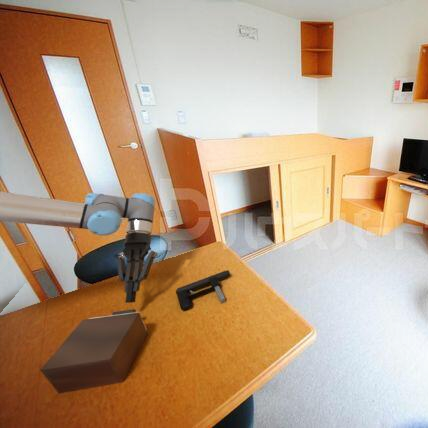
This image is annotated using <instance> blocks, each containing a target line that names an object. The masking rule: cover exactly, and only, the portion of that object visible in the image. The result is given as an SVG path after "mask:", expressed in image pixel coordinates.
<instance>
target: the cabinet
mask: <svg viewBox="0 0 428 428" xmlns="http://www.w3.org/2000/svg"><path fill="white" fill-rule="evenodd" d="M137 312H138V313H131V314H123V315H115V316H111V315H106V316H107V317H103V316H99V317H100V318H95V317H91V318H92V319H89V318H86V319H82V320H81V321H80V322H79V324H78V325H76V327H75V328H74V329H73V330H72V332H71V333H70V334H69V335H68V336H67V337H66V338H65V340H64V341H63V342H62V343H61V344H60V346H59V347H57V349H56V351H55V352H54V353H53V354H52V355H51V356H50V358H49V359H48V360H47V361H46V363H45V364H43V366H42V367H41V368H40V369H39V371H40V372H41V373H42V374H43V376H44V377H45V378H46V379H47V381H48V382H49V383H50V385H51V386H52V387H53V388H54V390H55V391H56V392H57V394H64V393H69V392H75V391H80V390H86V389H91V388H97V387H98V388H99V387H103V386H108V385H109V386H110V385H115V384H120V383H124V382H125V380H126V378H127V377H128V375H129V372H130V370H131V369H132V366H133V364H134V363H135V360H136V358H137V357H138V355H139V353H140V351H141V349H142V347H143V345H144V343H145V341H146V339H147V338H148V335H149V334H148V333H149V332H148V330H146V329H147V327H146V328H145V326H146V325H145V326H144V324H145V323H144V324H143V321H144V320H143V321H142V319H143V318H142V319H141V317H142V316H141V317H140V314H141V313H140V314H139V312H140V311H137Z"/></svg>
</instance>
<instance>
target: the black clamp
mask: <svg viewBox="0 0 428 428" xmlns="http://www.w3.org/2000/svg"><path fill="white" fill-rule="evenodd" d="M230 276H231V272H230V270H229V269H227V270H223V271H219V272H218V273H215V274H213V275H209V276H207V277H204V278H202V279H199V280H196V281H194V282H191V283H188V284H185V285H182V286H179V287H178V288H177V289H176V290H175V295H176V296H177V300H178V303H179V304H178V305H179V307H180V310H181V311H187V310H190V309H191V308H192V307H193V300H195V299H197V298H201V297H203V296H205V295H208V294H210V293H215V292H216V296H217V297H218V300H219V302H220V304H224V303H226V302H227V301H226V297H225V294H224V293H223V291H222V285H221V283H220V282H221V281H222V280H224V279H227V278H229V277H230ZM209 285H210V287H207V286H209ZM204 287H207V288H205V289H204ZM201 288H203V289H202V290H199V289H201ZM196 290H199V291H197V292H195V291H196ZM190 293H191V294H190Z"/></svg>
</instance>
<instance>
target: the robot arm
mask: <svg viewBox="0 0 428 428" xmlns="http://www.w3.org/2000/svg"><path fill="white" fill-rule="evenodd" d="M155 201H156V199H155V197H154V196H152V195H151V194H148V193H143V192H142V193H139V192H136V193H133V194H132V195H131V197H125V196H124V197H123V196H117V195H109V194H104V193H94V192H89V193H87V194H86V196H85V200H84V203H82V202H76V201H68V200H64V199H63V200H62V199H56V198H48V197H41V196H34V195H28V194H20V193H14V192H6V191H0V222H4V223H7V222H8V223H16V224H27V225H39V226H49V227H59V228H71V229H82V230H89V232H91V233H92V234H94V235H97V236H103V237H104V236H105V237H106V236H110V235H113V234H115V233H116V232H117V231H119V229H120V228H121V225H122V221H123V219H127V225H126V230H125V232H126V234H125V238H124V248H123V249H122V251H121V252H119V253H115V254H114V255H113V258H114V259H115V261H116V267H117V274H118V281H120V282H122V283H123V282H124V290H123V292H124V293H125V295H126V296H125V302H124V304H130V303H131V304H132V303H136V300H137V299H136V298H137V293H138V292H139V291H140V287H141V282H142V281H145V280H147V279H148V277H149V274H150V270H151V269H152V266H153V262H154V260H155V258H156V257H157V256H158V251H154V250H152V248H151V243H152V233H153V224H154V217H155V216H154V215H155V210H156V207H155V205H156V202H155ZM125 258H126V260H125ZM145 258H146V259H145ZM126 263H127V264H126Z"/></svg>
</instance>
